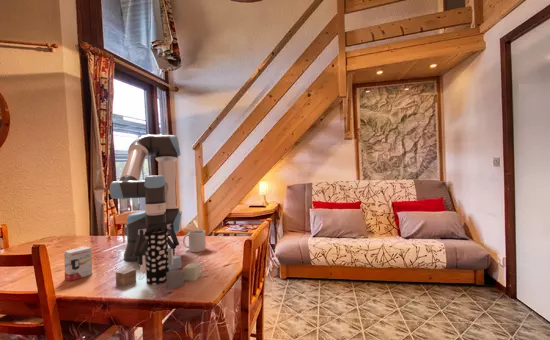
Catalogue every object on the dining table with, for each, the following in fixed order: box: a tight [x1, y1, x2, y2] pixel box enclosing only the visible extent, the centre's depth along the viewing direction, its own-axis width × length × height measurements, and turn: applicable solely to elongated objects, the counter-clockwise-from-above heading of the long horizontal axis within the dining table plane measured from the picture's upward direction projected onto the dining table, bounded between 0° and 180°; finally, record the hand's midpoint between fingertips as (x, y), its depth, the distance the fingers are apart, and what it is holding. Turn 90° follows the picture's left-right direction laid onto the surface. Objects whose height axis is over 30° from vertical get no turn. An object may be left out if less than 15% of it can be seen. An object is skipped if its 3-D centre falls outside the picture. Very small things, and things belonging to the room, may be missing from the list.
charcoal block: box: [166, 268, 185, 290], centre depth 103 cm, size 5×5×5 cm
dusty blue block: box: [169, 254, 182, 272], centre depth 121 cm, size 5×5×5 cm
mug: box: [182, 229, 207, 253], centre depth 148 cm, size 11×10×10 cm
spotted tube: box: [145, 229, 170, 286], centre depth 107 cm, size 8×8×20 cm
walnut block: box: [115, 267, 137, 288], centre depth 106 cm, size 5×5×5 cm
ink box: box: [63, 246, 93, 282], centre depth 114 cm, size 9×5×12 cm, turn 148°
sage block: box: [182, 263, 202, 282], centre depth 109 cm, size 5×5×5 cm
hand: (157, 268), depth 108 cm, fingers open, 11 cm apart
